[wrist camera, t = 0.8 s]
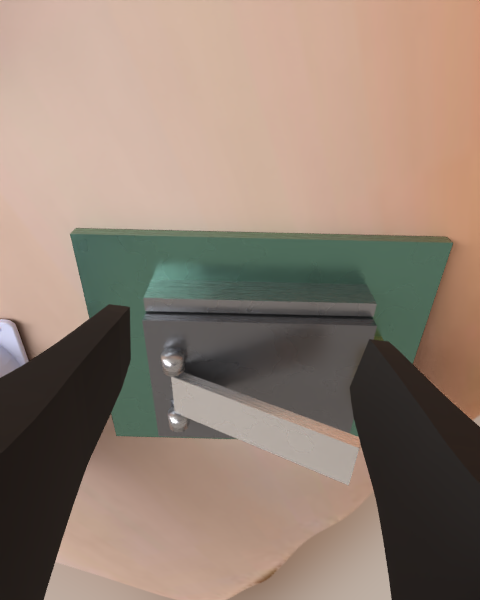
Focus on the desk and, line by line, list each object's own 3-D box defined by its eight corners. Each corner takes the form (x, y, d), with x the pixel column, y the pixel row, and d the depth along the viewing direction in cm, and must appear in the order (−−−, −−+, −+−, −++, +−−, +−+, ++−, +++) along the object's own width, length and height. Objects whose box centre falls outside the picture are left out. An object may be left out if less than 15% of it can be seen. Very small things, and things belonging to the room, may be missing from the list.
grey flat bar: (180, 405, 23) (174, 412, 22) (177, 369, 21) (171, 376, 21) (351, 475, 19) (348, 485, 19) (362, 438, 18) (359, 448, 17)
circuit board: (119, 427, 29) (97, 490, 25) (75, 228, 21) (31, 272, 17) (382, 434, 29) (406, 499, 25) (446, 236, 21) (498, 283, 16)
